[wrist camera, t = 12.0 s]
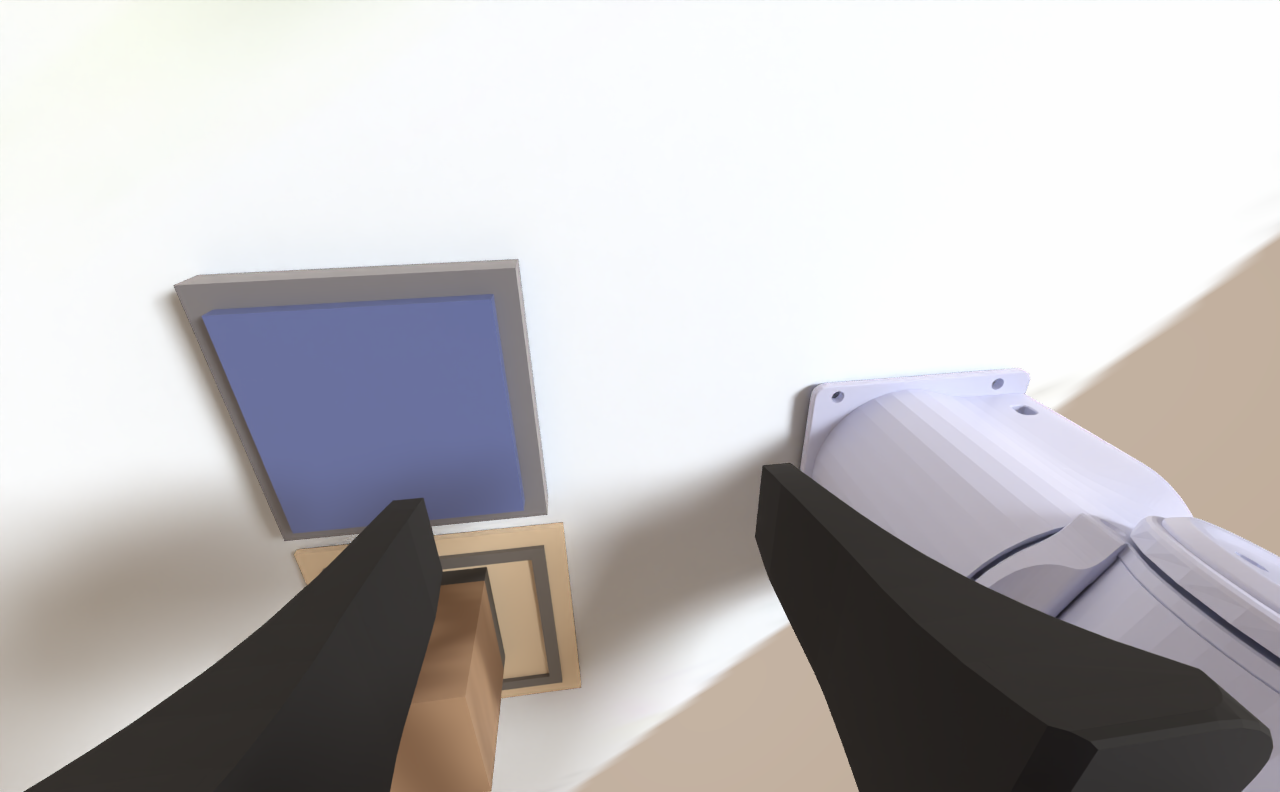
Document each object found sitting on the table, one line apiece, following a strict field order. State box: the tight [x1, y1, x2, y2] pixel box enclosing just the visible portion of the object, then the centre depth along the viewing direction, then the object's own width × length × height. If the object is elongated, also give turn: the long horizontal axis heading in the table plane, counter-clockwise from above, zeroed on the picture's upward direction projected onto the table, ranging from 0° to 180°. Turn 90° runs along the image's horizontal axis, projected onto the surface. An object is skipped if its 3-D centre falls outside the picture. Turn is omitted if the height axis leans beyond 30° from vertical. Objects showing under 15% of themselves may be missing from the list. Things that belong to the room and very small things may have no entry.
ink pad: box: [174, 259, 548, 541], centre depth 19 cm, size 10×10×2 cm
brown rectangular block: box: [390, 567, 505, 792], centre depth 22 cm, size 4×6×6 cm, turn 2°
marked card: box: [294, 522, 581, 698], centre depth 25 cm, size 11×11×1 cm
